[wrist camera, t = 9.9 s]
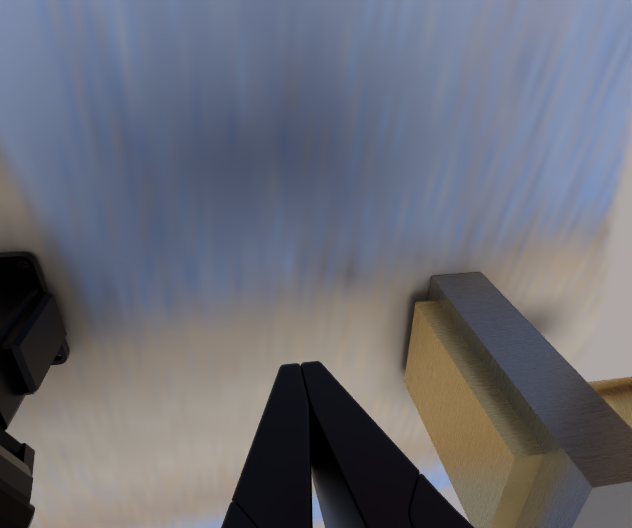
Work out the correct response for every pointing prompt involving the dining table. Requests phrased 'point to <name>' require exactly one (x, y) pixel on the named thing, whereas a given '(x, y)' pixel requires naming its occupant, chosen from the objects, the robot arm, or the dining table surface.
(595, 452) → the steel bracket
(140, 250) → the dining table surface
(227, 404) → the dining table surface
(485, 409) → the brass pin
